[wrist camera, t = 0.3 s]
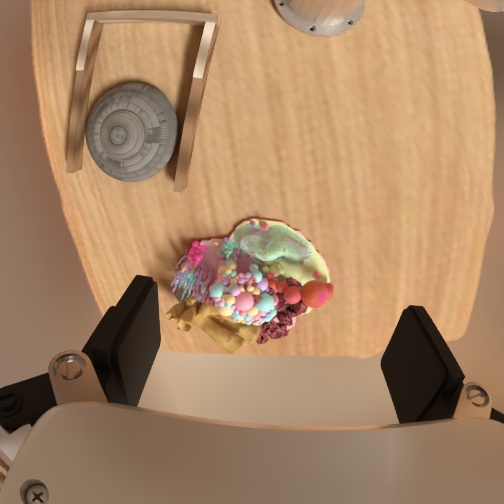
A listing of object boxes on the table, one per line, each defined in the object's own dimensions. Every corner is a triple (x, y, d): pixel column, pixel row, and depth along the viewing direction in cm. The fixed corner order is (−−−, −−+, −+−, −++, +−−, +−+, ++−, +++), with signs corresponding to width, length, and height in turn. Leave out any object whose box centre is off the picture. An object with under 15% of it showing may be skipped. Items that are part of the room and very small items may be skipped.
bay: (98, 17, 34) (87, 12, 30) (220, 20, 35) (216, 14, 31) (76, 167, 45) (64, 173, 42) (186, 187, 46) (180, 193, 43)
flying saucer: (198, 106, 41) (189, 107, 36) (155, 195, 47) (143, 207, 42) (113, 69, 38) (96, 67, 33) (79, 155, 44) (61, 163, 39)
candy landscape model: (264, 355, 61) (263, 391, 52) (156, 298, 56) (140, 331, 47) (350, 263, 51) (364, 295, 42) (226, 183, 46) (217, 202, 38)
